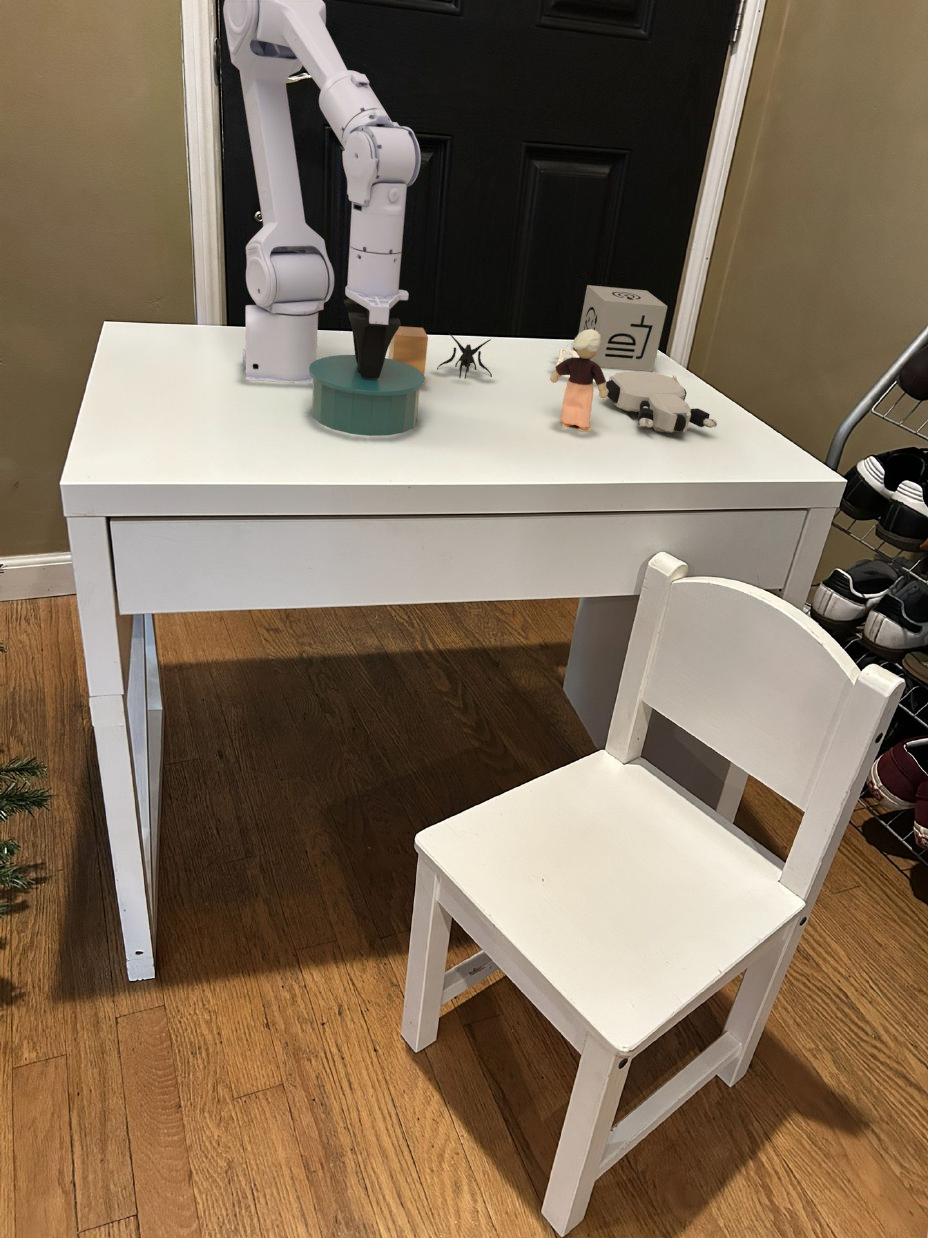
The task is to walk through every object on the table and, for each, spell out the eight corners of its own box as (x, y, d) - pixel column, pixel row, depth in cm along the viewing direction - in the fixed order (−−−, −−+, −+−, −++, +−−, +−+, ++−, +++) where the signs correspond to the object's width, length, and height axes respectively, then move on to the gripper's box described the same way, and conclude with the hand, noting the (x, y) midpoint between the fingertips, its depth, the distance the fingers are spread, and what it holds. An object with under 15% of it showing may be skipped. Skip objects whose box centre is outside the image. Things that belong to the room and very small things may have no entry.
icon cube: (652, 371, 148) (667, 306, 143) (592, 366, 146) (604, 300, 141) (633, 352, 157) (646, 290, 151) (575, 347, 155) (587, 285, 149)
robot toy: (717, 446, 124) (665, 399, 135) (727, 414, 121) (674, 368, 133) (634, 446, 120) (588, 397, 131) (643, 413, 117) (595, 366, 129)
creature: (489, 393, 132) (494, 365, 138) (493, 358, 129) (498, 331, 134) (433, 385, 132) (441, 357, 138) (436, 350, 129) (444, 323, 134)
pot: (315, 437, 107) (317, 390, 105) (309, 400, 118) (311, 356, 115) (422, 442, 110) (427, 396, 107) (407, 405, 121) (411, 363, 118)
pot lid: (312, 397, 104) (313, 351, 102) (305, 360, 116) (307, 318, 113) (432, 403, 107) (437, 359, 105) (415, 366, 119) (419, 325, 116)
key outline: (541, 357, 147) (543, 346, 147) (572, 359, 149) (574, 348, 148) (564, 384, 137) (566, 372, 136) (597, 386, 138) (599, 374, 137)
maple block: (390, 387, 126) (394, 334, 123) (386, 376, 130) (390, 325, 126) (423, 388, 127) (428, 336, 124) (418, 378, 131) (423, 327, 127)
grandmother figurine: (603, 431, 121) (623, 332, 115) (597, 440, 118) (617, 338, 111) (545, 418, 123) (562, 319, 116) (538, 427, 120) (555, 326, 113)
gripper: (421, 265, 99) (409, 392, 106) (402, 238, 111) (393, 353, 118) (353, 260, 97) (346, 388, 104) (342, 233, 109) (336, 350, 116)
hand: (367, 370), depth 111 cm, fingers open, 4 cm apart
